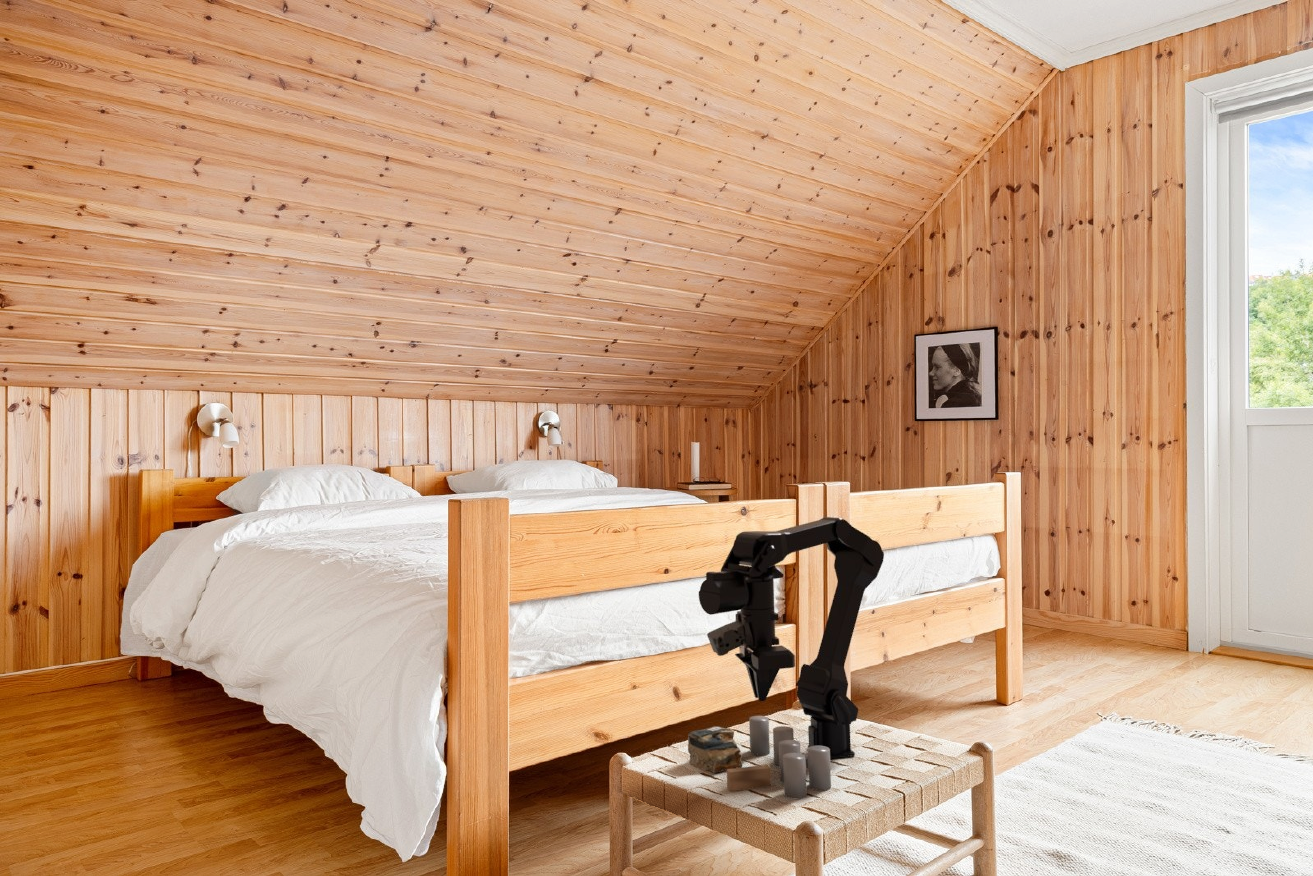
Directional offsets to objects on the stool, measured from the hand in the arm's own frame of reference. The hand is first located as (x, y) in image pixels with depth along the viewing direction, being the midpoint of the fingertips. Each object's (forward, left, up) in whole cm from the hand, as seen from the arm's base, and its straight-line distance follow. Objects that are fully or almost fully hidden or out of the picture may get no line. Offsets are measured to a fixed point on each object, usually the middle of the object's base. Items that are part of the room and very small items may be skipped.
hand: (760, 699), depth 151 cm
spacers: (-4, 0, -12) cm, 13 cm away
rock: (+6, -7, -13) cm, 16 cm away
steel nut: (-10, -2, -13) cm, 17 cm away
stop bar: (+4, +5, -12) cm, 14 cm away
